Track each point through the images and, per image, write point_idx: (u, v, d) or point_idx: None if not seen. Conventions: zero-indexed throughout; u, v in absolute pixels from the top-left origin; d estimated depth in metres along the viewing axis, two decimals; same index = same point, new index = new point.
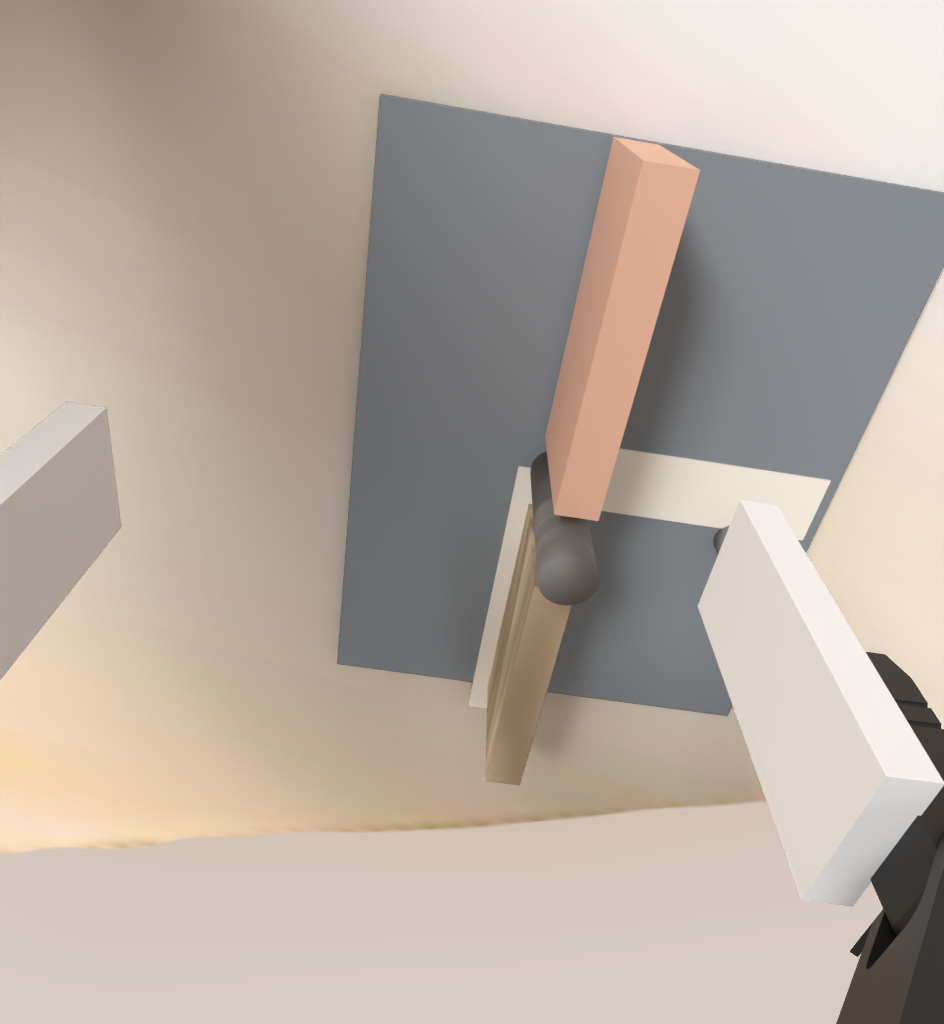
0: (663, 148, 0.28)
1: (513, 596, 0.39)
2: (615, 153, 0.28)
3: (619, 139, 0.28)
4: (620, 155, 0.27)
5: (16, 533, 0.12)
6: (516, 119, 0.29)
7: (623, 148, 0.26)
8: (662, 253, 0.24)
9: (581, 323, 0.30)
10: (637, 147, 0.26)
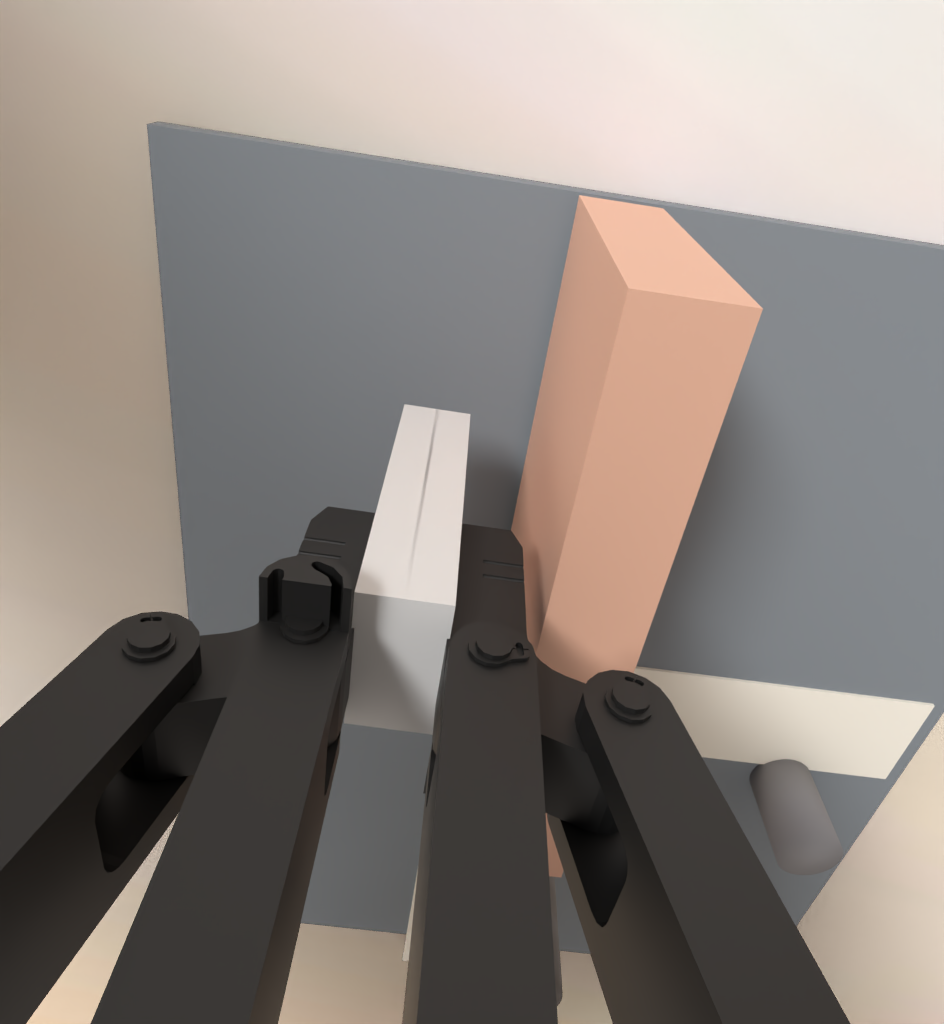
0: (672, 221, 0.14)
1: None
2: (581, 231, 0.15)
3: (589, 202, 0.15)
4: (588, 241, 0.14)
5: None
6: (401, 165, 0.16)
7: (593, 230, 0.13)
8: (674, 474, 0.11)
9: (527, 525, 0.17)
10: (621, 227, 0.13)
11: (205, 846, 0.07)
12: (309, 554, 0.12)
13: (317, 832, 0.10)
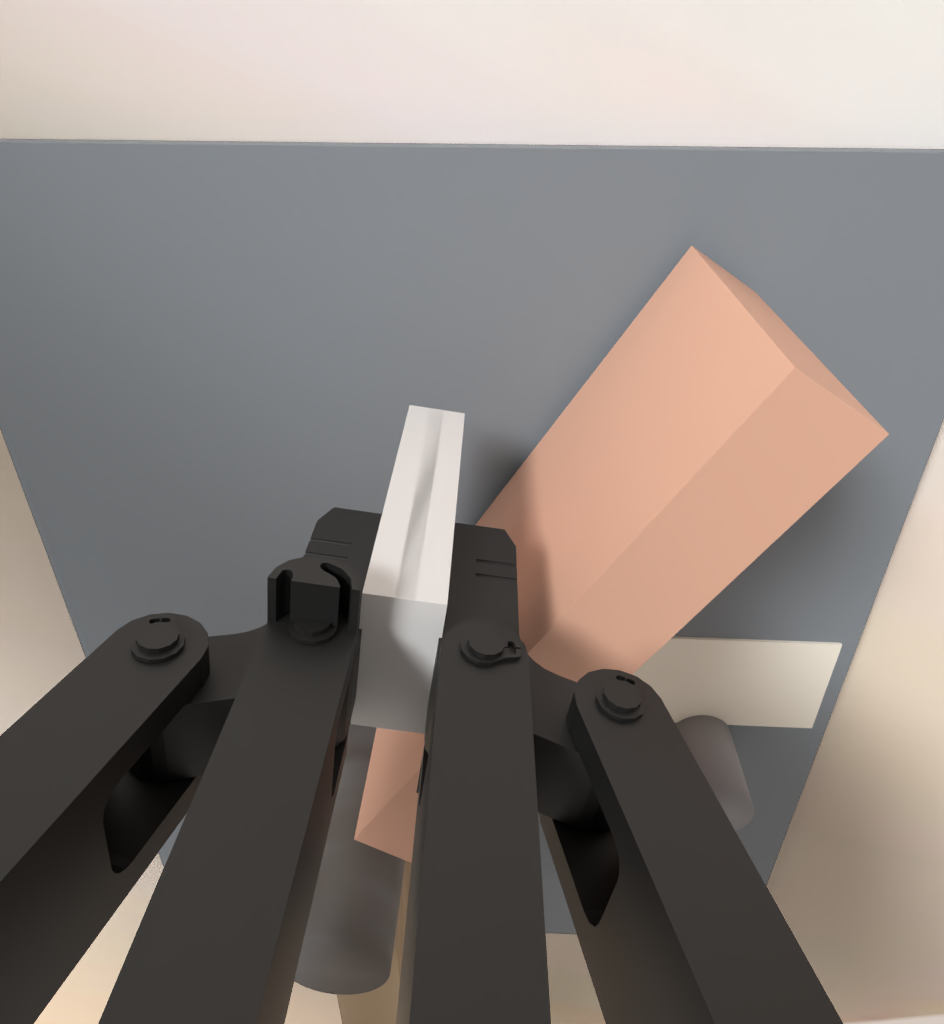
0: (770, 309, 0.15)
1: None
2: (691, 281, 0.15)
3: (703, 258, 0.15)
4: (706, 295, 0.14)
5: None
6: (137, 144, 0.16)
7: (720, 288, 0.13)
8: (737, 544, 0.12)
9: (520, 528, 0.17)
10: (743, 297, 0.14)
11: (213, 847, 0.07)
12: (316, 555, 0.12)
13: (324, 834, 0.10)
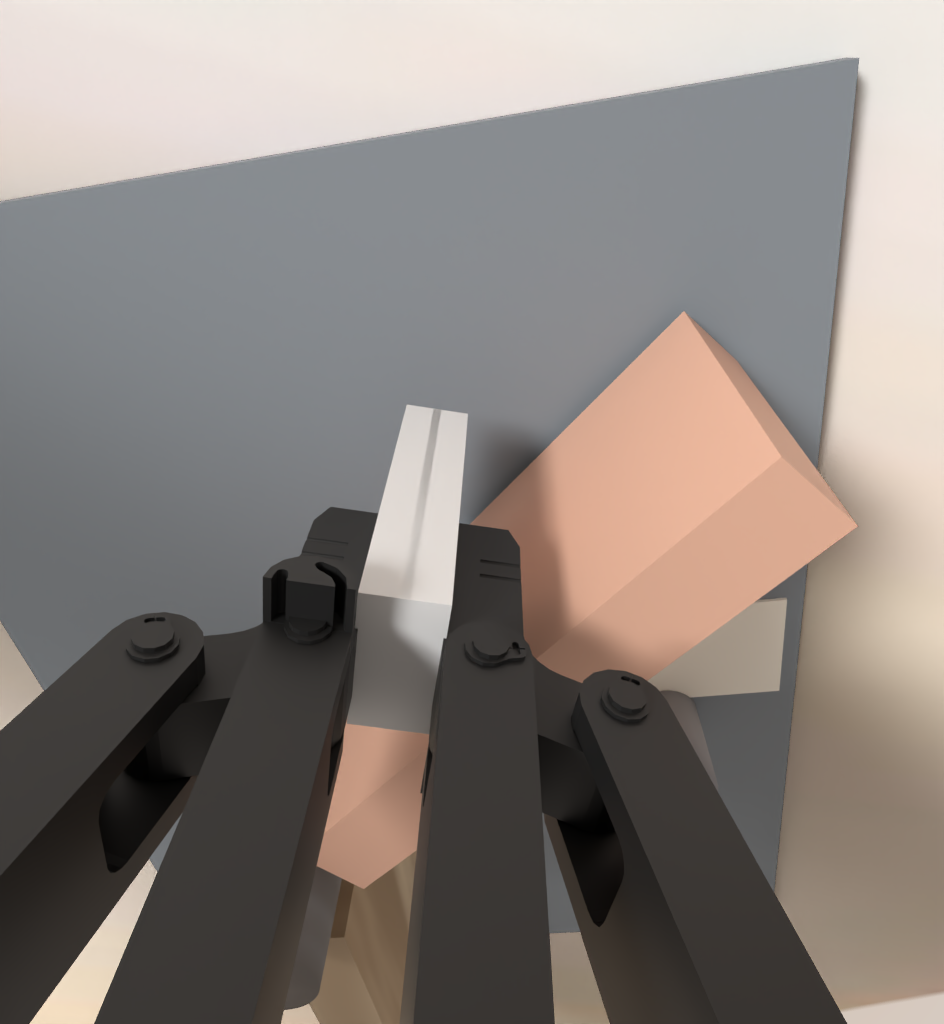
0: (751, 382, 0.16)
1: None
2: (682, 347, 0.16)
3: (695, 325, 0.16)
4: (697, 365, 0.15)
5: None
6: None
7: (710, 361, 0.14)
8: (706, 611, 0.12)
9: None
10: (731, 372, 0.14)
11: (208, 847, 0.07)
12: (312, 554, 0.12)
13: (320, 833, 0.10)
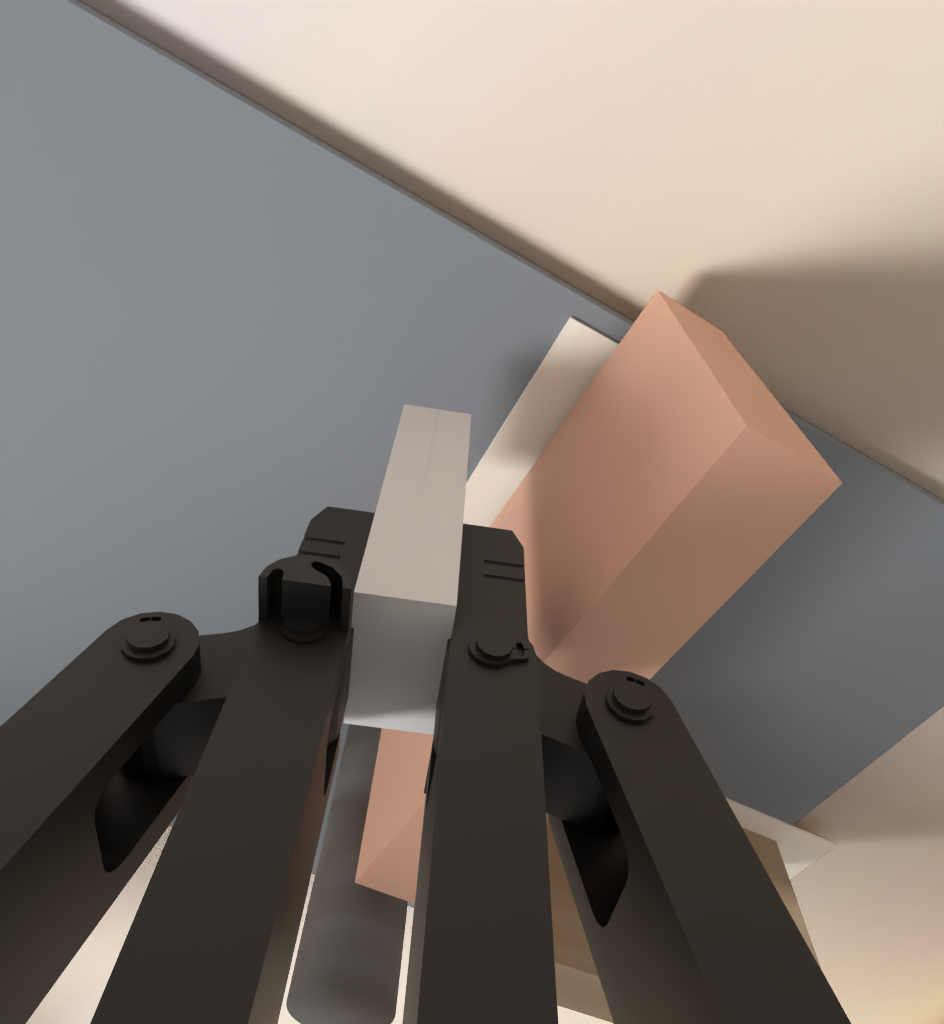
0: (735, 350, 0.16)
1: None
2: (657, 327, 0.15)
3: (668, 303, 0.16)
4: (670, 343, 0.14)
5: None
6: None
7: (682, 337, 0.14)
8: (705, 590, 0.12)
9: None
10: (705, 344, 0.14)
11: (205, 846, 0.07)
12: (309, 554, 0.12)
13: (317, 832, 0.10)
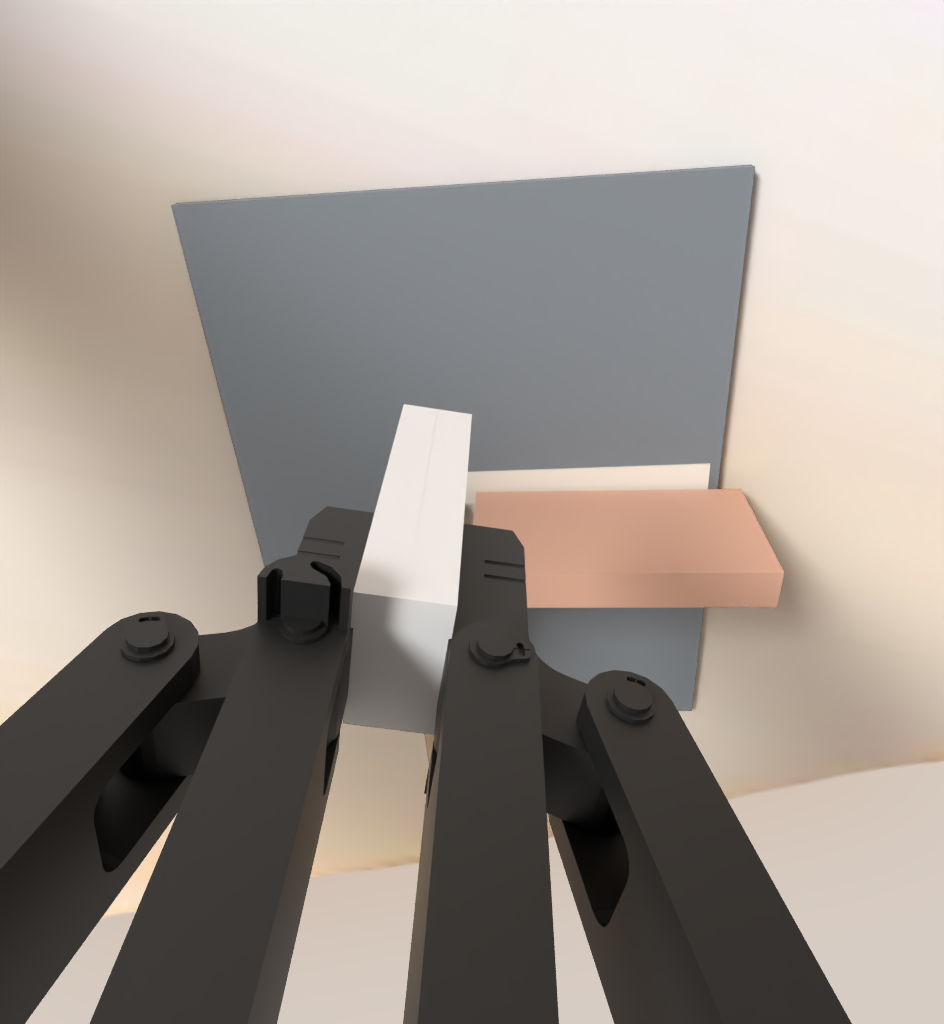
0: None
1: None
2: (739, 504, 0.35)
3: None
4: (747, 517, 0.34)
5: None
6: (294, 197, 0.31)
7: (755, 520, 0.34)
8: (716, 599, 0.31)
9: (612, 520, 0.34)
10: None
11: (204, 846, 0.07)
12: (308, 554, 0.12)
13: (316, 832, 0.10)
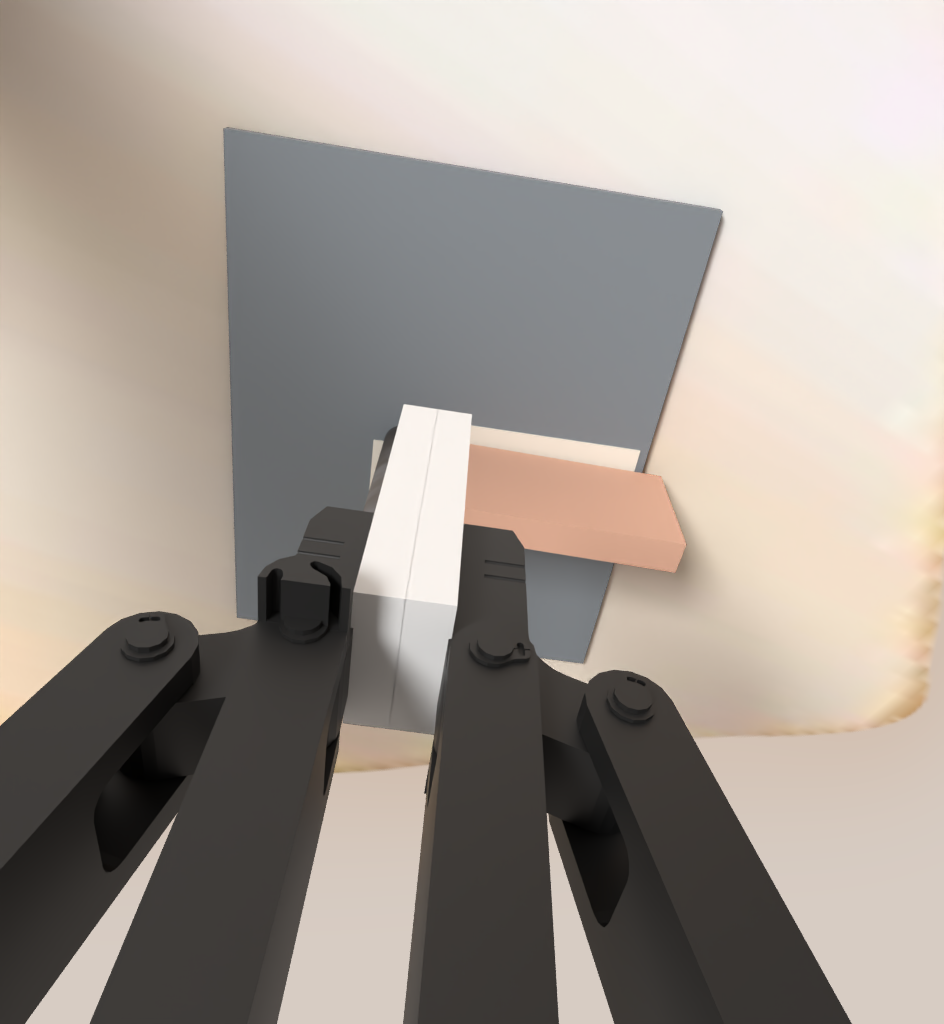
0: None
1: None
2: (658, 487, 0.42)
3: None
4: (663, 498, 0.41)
5: None
6: (337, 147, 0.35)
7: (669, 502, 0.41)
8: (629, 558, 0.38)
9: (554, 481, 0.40)
10: None
11: (204, 846, 0.07)
12: (308, 554, 0.12)
13: (316, 832, 0.10)
